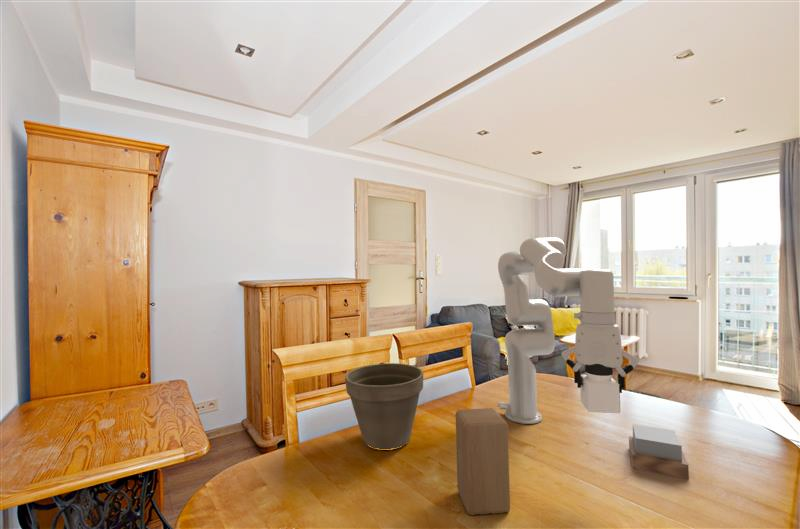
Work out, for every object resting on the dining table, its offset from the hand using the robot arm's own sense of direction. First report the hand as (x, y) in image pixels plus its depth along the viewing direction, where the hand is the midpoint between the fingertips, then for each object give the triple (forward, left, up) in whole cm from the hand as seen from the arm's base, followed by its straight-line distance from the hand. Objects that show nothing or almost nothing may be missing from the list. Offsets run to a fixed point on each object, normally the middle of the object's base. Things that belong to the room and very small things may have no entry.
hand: (599, 388), depth 92 cm
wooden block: (-25, -19, -24) cm, 39 cm away
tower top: (+13, +19, -20) cm, 31 cm away
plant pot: (-61, -2, -24) cm, 65 cm away
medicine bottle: (0, 0, -5) cm, 5 cm away
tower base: (+13, +18, -24) cm, 33 cm away
